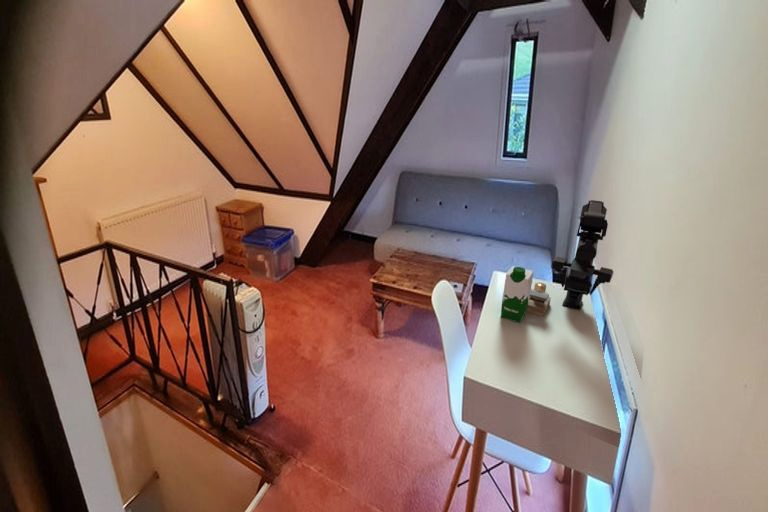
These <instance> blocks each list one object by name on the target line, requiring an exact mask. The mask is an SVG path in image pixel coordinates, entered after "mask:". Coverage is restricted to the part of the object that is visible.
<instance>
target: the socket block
mask: <svg viewBox="0 0 768 512" xmlns="http://www.w3.org/2000/svg"><path fill="white" fill-rule="evenodd" d="M532 298H537V299H540V300H543V303H540V302H537V301H533V300H532ZM551 299H552V297H550V293H547V292H545V293H544V292H540V291H536V290H534V288H533V289H532V288H531V291H530V297H529V302H528V306H527V309H526V312H525V313H531V314H533V315H536V316H539V317H544V315H545V314H546V311H547V309H548V308H549V307H550V304H551Z"/></svg>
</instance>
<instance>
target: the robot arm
mask: <svg viewBox="0 0 768 512" xmlns="http://www.w3.org/2000/svg"><path fill="white" fill-rule="evenodd" d="M604 204H605V202H604V201H602V200H594V199H591V200H588V202H587V203H586V204H584V205H582V208H581V212H580V216H579V225H578V229H577V233H576V237H579V238H578V241H577V242H578V243H577V245H576V251H575V255H574V258H573V260H572V262H569V260H568V258H565V257H561V256H556V257H554V259H553V261H552V262H551V265H550V266H551V269H552V270H554V271H555V272H556V273H558V275H559V278H560V283H561V287H562V288H563V291H566V295H565V298H564V300H563V301H562V303H561V304H562V306H565V307H567V308H572V309H575V310H580V311H581V309H582V306H583V304H584V301H583V297H584V295H586V296H588V295H590V296H591V295H592V294H593V293H594V292H595V290H596V289H597V288H598V286H600V285H601V284H605V283H608V284H609V283H611V280H612V278H613V275H614V270H613V269H611V268H608V267H603V266H601V267H600V269H596V268H595V267H596V266H594V265H593V263H594V260H595V258H596V257H597V252H598V251H597V250H598V243H599V240H600V241H603V240H604V238H605V237H606V235H607V230H608V225H609V223H608V220H607V219H606V215H607V213H608V212H607V211H608V210H607V208H606V206H605V205H604ZM567 269H569V274H568V275H567ZM593 276H596V278H595V280H594V283H593V284H592V280H590V277H593Z"/></svg>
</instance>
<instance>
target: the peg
mask: <svg viewBox="0 0 768 512" xmlns="http://www.w3.org/2000/svg"><path fill="white" fill-rule="evenodd" d="M546 289H547V284H545V283H543V282H535V284H534V288H533V290H536V291H540V292H544V293H546ZM532 300H533V301H537V302H540V303H543V300H540V299H537V298H532Z"/></svg>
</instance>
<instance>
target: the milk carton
mask: <svg viewBox="0 0 768 512" xmlns="http://www.w3.org/2000/svg"><path fill="white" fill-rule="evenodd" d="M533 277H534V270H531V269H525V268H524V267H520V266H514V265H512V266H511V268H509V270H508V271H507V273H506V274H505V279H504V285H503V291H502V292H503V293H502V299H501V309H500V311H501V312H500V318H504V319H506V320H510V321H512V322H513V321H514V322H516V323H521V322H522V320H523V318H524V316H525V314H526V313H527V312H526V309H527V306H528V302H529V297H530V291H531V289H532V284H533Z"/></svg>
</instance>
